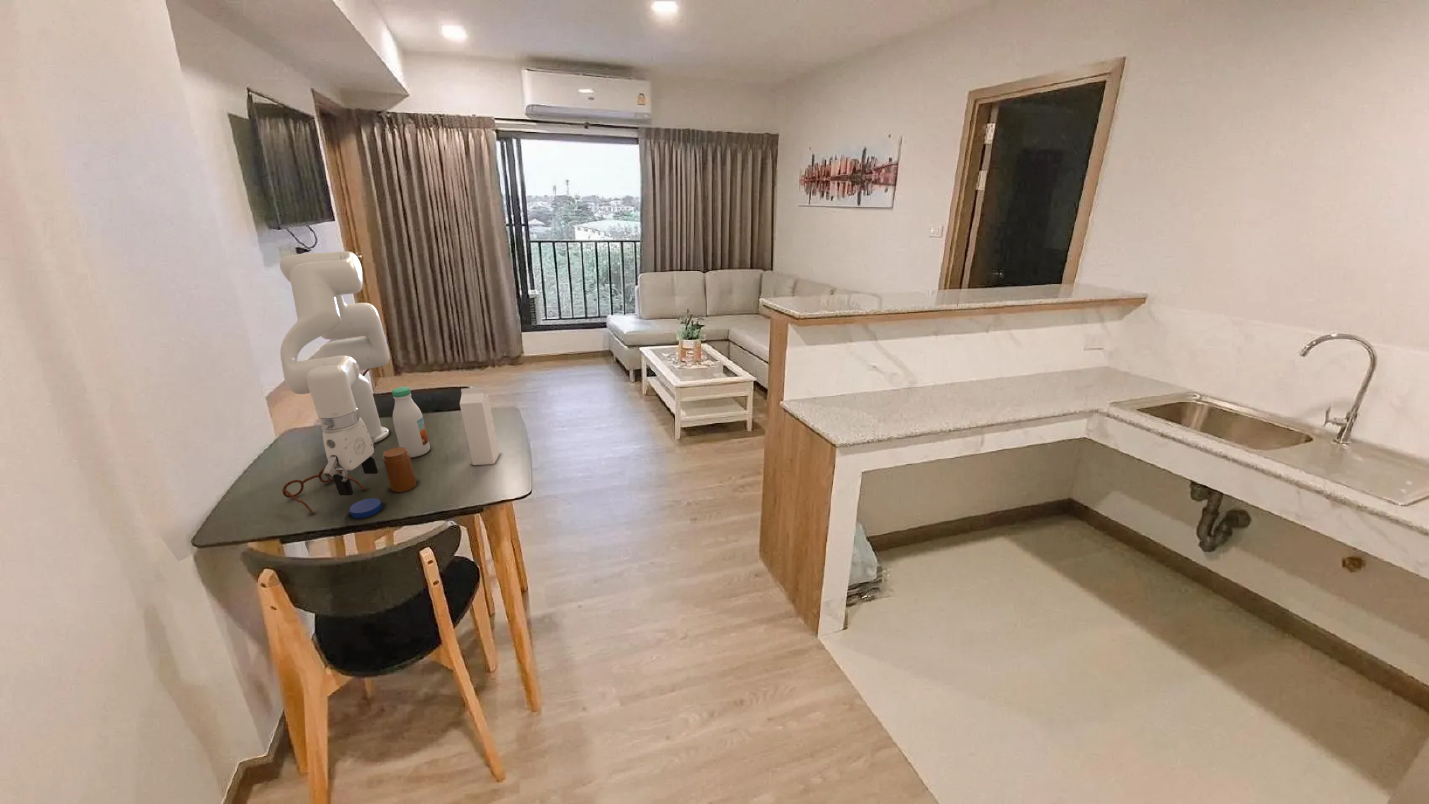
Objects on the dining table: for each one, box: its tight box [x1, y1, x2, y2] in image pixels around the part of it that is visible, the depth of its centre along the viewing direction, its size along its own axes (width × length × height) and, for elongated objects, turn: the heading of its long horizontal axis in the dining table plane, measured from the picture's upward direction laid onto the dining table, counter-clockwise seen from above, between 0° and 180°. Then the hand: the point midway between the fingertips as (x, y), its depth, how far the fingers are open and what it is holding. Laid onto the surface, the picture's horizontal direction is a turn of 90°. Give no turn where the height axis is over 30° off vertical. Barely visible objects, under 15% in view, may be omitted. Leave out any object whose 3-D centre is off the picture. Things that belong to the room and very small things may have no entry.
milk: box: [459, 387, 500, 466], centre depth 155 cm, size 6×6×22 cm
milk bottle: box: [391, 386, 431, 458], centre depth 161 cm, size 8×8×20 cm
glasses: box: [281, 467, 366, 515], centre depth 142 cm, size 13×13×5 cm
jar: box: [382, 446, 418, 493], centre depth 144 cm, size 6×6×10 cm
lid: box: [349, 497, 383, 519], centre depth 135 cm, size 7×7×2 cm
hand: (359, 483), depth 134 cm, fingers open, 9 cm apart
